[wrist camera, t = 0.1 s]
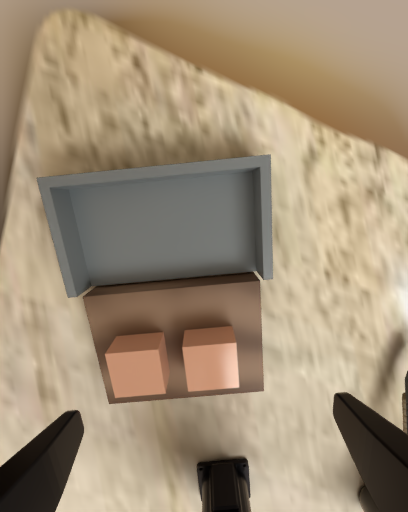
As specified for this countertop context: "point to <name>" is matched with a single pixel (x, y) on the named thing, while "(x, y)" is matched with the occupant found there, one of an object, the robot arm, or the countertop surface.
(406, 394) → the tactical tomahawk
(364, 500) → the supplement bottle
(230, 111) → the countertop surface
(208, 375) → the tile
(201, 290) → the walnut board
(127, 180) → the tray
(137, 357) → the block
